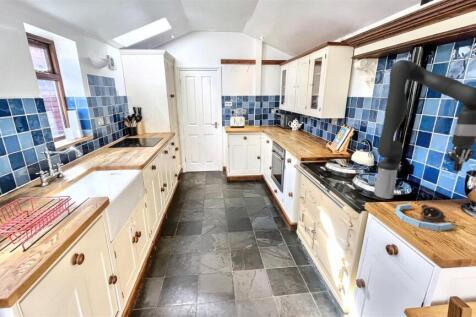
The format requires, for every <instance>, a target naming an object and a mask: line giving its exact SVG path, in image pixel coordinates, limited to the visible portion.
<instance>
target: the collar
mask: <svg viewBox="0 0 476 317" xmlns="http://www.w3.org/2000/svg"><path fill="white" fill-rule="evenodd" d="M410 208H411V209H412V204H410V203H402V204H398V205H397V206H396V207H395V209H394V215H395V214H396V215H397V216H398V217H399V218H400V219H399V218H398V217H397V216H396V215H395V216H396V217H397V218H398V219H399V220H400V221H402V222H403V221H404V222H403V223H406V222H407V223H406V224H408V225H411V226H414V227H416V228H420V229H424V230H425V229H426V230H430V231H431V230H432V231H446V230H452V228H453V227H452V226H453V223H452V222H448V221H447V222H444V223H443V222H440V223H436V222H433V223H431V222H425V221H421V220H418V219H416V218H412V217H410V216H408V215H405V213H403V212H402V211H404V210H403V209H409V210H411V209H410ZM400 210H401V211H400Z"/></svg>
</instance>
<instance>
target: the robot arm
mask: <svg viewBox="0 0 476 317" xmlns="http://www.w3.org/2000/svg"><path fill="white" fill-rule="evenodd" d="M389 71H390V72H389V85H388V86H389V87H388V88H389V89H388V95H387V99H386V100H387V101H386V105H385V111H384V116H383V118H384V119H383V124H382V128H381V133H380V138H379V141H378V144H377V153H378V155H379V157H381V158H384V159H382V160H381V161H380V162H379V163H378V166H377V167H378V169H377V176H376V177H377V178H375V181H374V182H375V183H374V189H373V190H374V191H373V194H374V195H375V196H376V197H378V198H381V199H385V200H386V199H390V200H391V199H393V198H394V194H395V188H396V181H397V173H398V167H399V166H400V164H401V162H402V160H401V159H402V156H403V151H404V150H403V145H402V143H401V142H400V141H398V140H394V139H395V135H396V132H397V131H398V129H399V127H400V126H401V125H402V124H403V122H404V119H405V118H406V117H405V116H406V112H407V108H408V106H407V103H408V101H407V95H406V87H407V86H406V85H407V81H408V80H409V81H413V82H416V83H418V84H421V85H423V86H424V87H427V88H428V89H430V90H432V91H434V92H436V93H438V94H439V93H440V94H442V95H444V96H447V97H450V98H452V99H453V100H455V101H457V102H459V103H462V107H461V110H460V111H459V113H458V116H457V119H456V125H455V127H454V131H453V134H452V138H451V139H452V140H451V144H453V146H452V149H451V151H447V152H446V153H447V154H446V155H447V156H448V158H449V160H450V162H452V163H453V169H452V170H453V171H455V172H462V169H463V164H464V163H467V162H469V160H470V159H471V158H472V157H473V155H474V154H475V153H476V151H475V150H472V146H475V144H476V87H475V86H472V85H470V84H469V85H468V84H466V83H463V82H461V81H460V80H457V79H454V78H452V77H449V76H446V75H444V74H443V75H442V74H438V73H436V72H432V71H430V70H428V69H426V68H424V67H422V66H420V65H419V64H417V63H415V62H413V61H412V60H408V59H407V60H406V59H401V60H397V61H395V63H393V65H392V66H391V68H390V70H389Z"/></svg>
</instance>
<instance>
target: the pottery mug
mask: <svg viewBox="0 0 476 317" xmlns="http://www.w3.org/2000/svg"><path fill="white" fill-rule="evenodd" d="M444 214H445V213H443V211H441V209H440V208H438V207H436V206H429V205H427V204H422V205H421V210H420V214H419V215H420V216H419V221H422V222H428V223H438V222H440V223H446V222H445V220H446V219H445V218H446V215H444ZM429 215H430V216H429Z"/></svg>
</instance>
